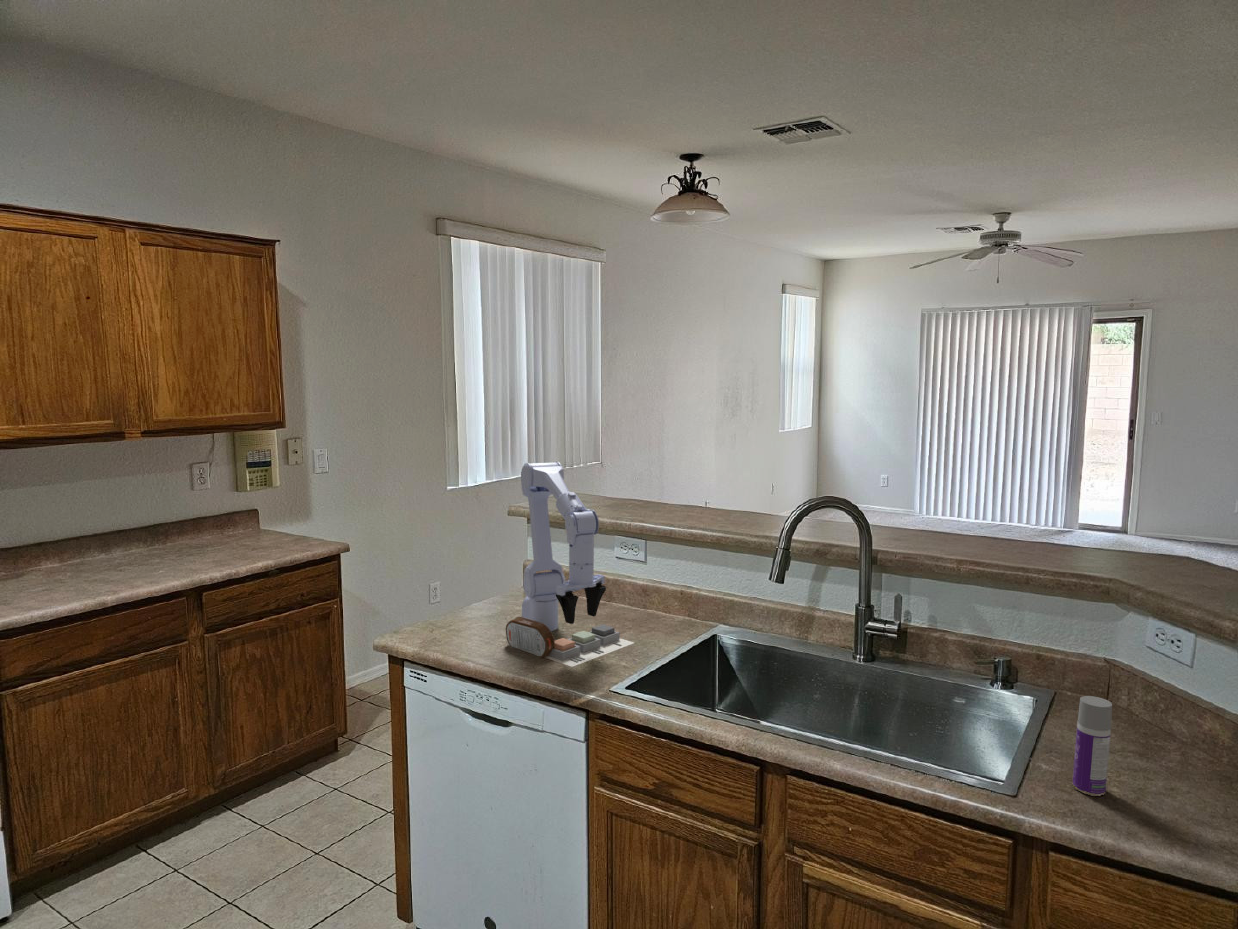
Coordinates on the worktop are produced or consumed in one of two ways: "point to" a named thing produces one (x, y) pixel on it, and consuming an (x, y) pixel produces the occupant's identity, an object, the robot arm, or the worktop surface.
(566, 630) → the worktop surface
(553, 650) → the keypad
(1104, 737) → the container
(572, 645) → the key three
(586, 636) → the key two
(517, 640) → the tin
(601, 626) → the key one
